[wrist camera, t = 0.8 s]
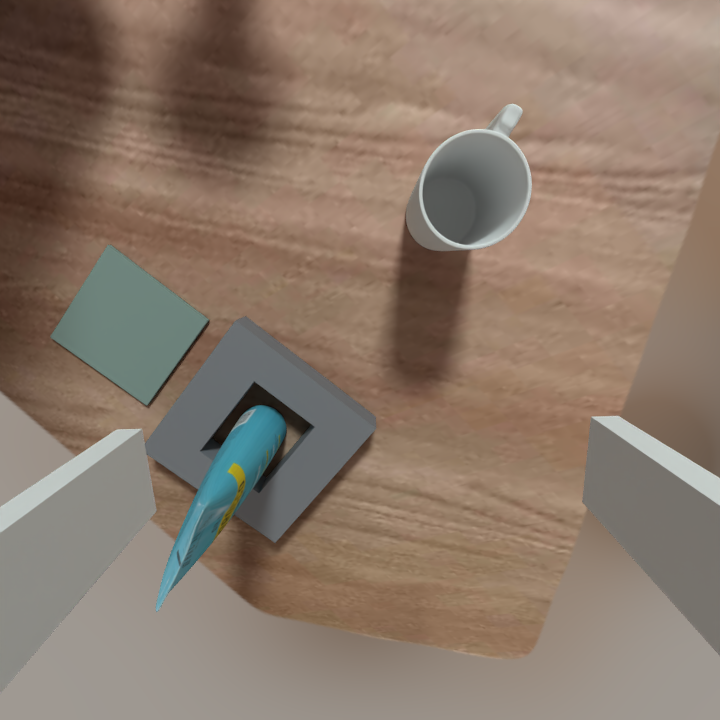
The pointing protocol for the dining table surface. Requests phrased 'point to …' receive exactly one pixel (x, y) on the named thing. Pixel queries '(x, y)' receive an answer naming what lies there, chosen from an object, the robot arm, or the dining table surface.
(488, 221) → the mug
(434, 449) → the dining table surface
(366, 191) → the dining table surface
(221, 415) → the socket board
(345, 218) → the dining table surface
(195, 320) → the coaster
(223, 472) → the tube
